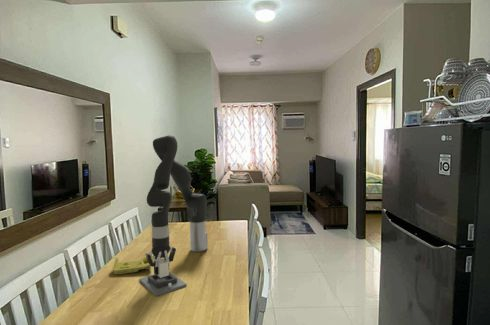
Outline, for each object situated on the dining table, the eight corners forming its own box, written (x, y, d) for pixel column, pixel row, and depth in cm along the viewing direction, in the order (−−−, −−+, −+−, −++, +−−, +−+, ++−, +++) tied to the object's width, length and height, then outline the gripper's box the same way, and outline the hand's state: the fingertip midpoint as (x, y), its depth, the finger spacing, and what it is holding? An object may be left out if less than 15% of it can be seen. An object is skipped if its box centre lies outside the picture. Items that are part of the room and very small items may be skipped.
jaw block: (163, 271, 138) (162, 258, 138) (168, 275, 134) (168, 262, 133) (154, 273, 136) (154, 260, 135) (160, 277, 131) (159, 264, 131)
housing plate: (167, 272, 147) (167, 266, 147) (186, 286, 132) (186, 279, 132) (139, 280, 138) (139, 275, 138) (155, 296, 123) (155, 289, 123)
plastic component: (111, 271, 144) (116, 255, 153) (115, 281, 148) (120, 265, 156) (153, 265, 146) (156, 250, 155) (156, 275, 150) (158, 260, 158)
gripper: (171, 230, 141) (172, 266, 142) (141, 236, 132) (143, 274, 133) (179, 233, 135) (180, 271, 136) (148, 240, 126) (149, 280, 127)
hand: (161, 272), depth 135 cm, fingers closed on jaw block, 4 cm apart
